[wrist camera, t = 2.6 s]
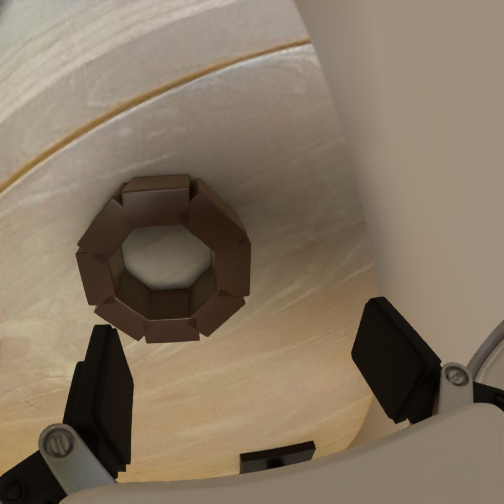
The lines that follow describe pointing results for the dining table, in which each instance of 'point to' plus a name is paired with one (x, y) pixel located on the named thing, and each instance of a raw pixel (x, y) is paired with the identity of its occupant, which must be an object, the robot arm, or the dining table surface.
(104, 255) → the ring
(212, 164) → the dining table surface
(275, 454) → the dark grey peg stand
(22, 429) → the dining table surface
